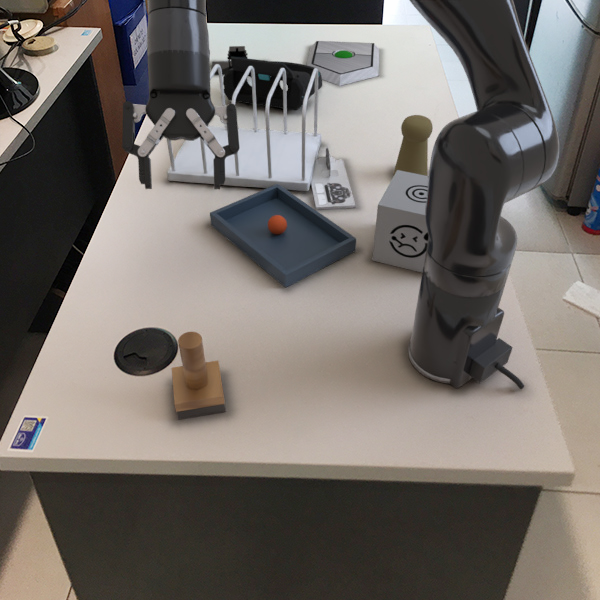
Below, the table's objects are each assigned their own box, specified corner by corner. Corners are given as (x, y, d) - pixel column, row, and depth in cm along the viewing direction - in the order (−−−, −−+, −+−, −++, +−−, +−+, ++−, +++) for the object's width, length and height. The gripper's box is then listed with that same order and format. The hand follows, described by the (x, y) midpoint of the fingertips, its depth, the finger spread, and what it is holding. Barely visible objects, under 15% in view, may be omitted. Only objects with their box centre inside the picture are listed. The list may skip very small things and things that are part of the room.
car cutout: (306, 163, 115) (307, 140, 112) (342, 161, 116) (343, 139, 113) (315, 209, 104) (316, 186, 101) (355, 207, 105) (357, 184, 102)
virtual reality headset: (214, 104, 130) (213, 54, 125) (255, 80, 148) (255, 34, 142) (299, 117, 126) (301, 65, 120) (330, 90, 143) (334, 44, 138)
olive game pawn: (426, 186, 110) (435, 128, 102) (391, 183, 110) (398, 125, 103) (428, 169, 114) (437, 112, 106) (394, 165, 115) (401, 108, 107)
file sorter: (167, 182, 111) (152, 97, 100) (194, 134, 123) (183, 55, 113) (308, 192, 108) (307, 105, 97) (321, 142, 120) (322, 61, 110)
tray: (355, 251, 96) (356, 238, 95) (285, 287, 90) (285, 275, 88) (278, 195, 108) (277, 183, 106) (210, 225, 101) (209, 212, 100)
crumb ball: (290, 233, 99) (290, 217, 97) (275, 240, 98) (275, 225, 96) (279, 224, 101) (278, 209, 99) (264, 231, 99) (263, 216, 97)
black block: (211, 75, 144) (208, 55, 141) (212, 62, 150) (210, 43, 146) (265, 73, 145) (264, 53, 141) (264, 61, 150) (263, 41, 147)
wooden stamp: (220, 376, 78) (212, 318, 71) (225, 412, 74) (218, 354, 67) (174, 383, 77) (162, 325, 70) (177, 420, 73) (165, 362, 66)
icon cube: (452, 238, 99) (463, 183, 92) (437, 276, 92) (448, 220, 85) (390, 224, 101) (397, 169, 95) (372, 260, 95) (377, 204, 88)
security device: (301, 84, 141) (301, 75, 139) (310, 46, 157) (311, 38, 155) (378, 88, 139) (378, 79, 138) (379, 49, 156) (380, 41, 154)
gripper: (115, 45, 73) (121, 187, 75) (238, 49, 75) (241, 187, 77) (122, 61, 80) (128, 190, 82) (234, 65, 82) (237, 190, 84)
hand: (183, 188), depth 79 cm, fingers open, 8 cm apart
